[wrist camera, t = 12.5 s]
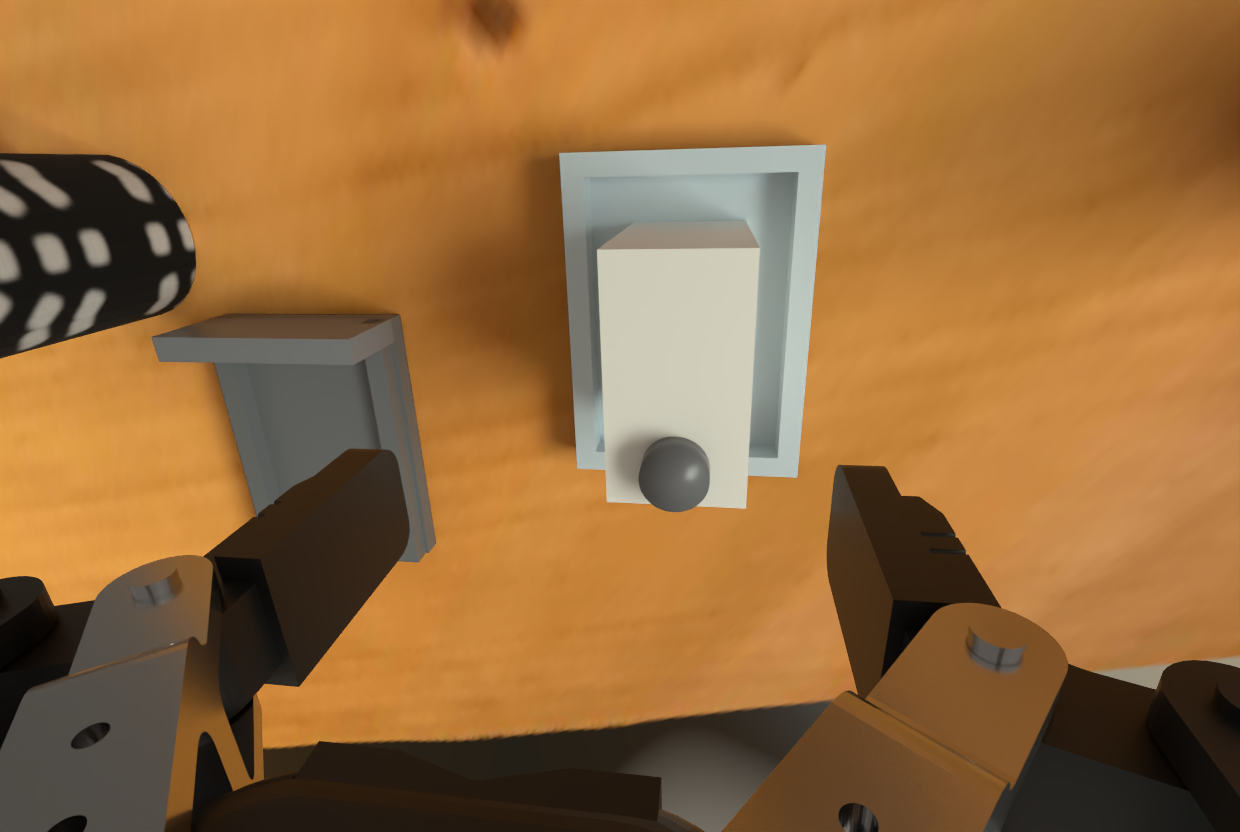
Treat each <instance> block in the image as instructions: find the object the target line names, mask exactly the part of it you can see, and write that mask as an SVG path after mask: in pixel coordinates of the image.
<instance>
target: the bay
mask: <svg viewBox="0 0 1240 832" xmlns="http://www.w3.org/2000/svg"><path fill="white" fill-rule="evenodd" d="M152 340H153V343H154V347H155V350H156V353H157V356H158V360H159V362H210V363H214V364H215V367H216V371H217V375H218V378H219V382H220V386H221V389H222V393H223V396H224V400H225V404H226V407H227V411H228V414H229V418H230V422H231V425H232V429H233V432H234V436H235V440H236V443H237V447H238V451H239V454H240V458H241V461H242V465H243V469H244V472H245V476H246V479H247V483H248V487H249V490H250V494H251V497H252V501H253V505H254V508H255V512H256V516H257V517H258V513H259V512H261V511H262V510H263V509H265V508H266V507H267V506H268V505H270V504H274V501H275V500H276V499H277V498H279V497H280V496H281V495H282V494H284V493H285V492H286V491H288V490H289V489H290V488H291V487H293V486H294V485H296V484H298V483H300V482H302V481H304V480H307V479H309V478H311V477H313V476H314V475H316V474H317V473H318V472H319V471H321V470H322V469H323V468H324V467H326V466H327V465H328V464H330V463H331V462H332V461H333V460H335V459H336V458H337V457H338V456H340V455H341V454H342V453H343V452H345V451H346V450H348V449H351V448H354V449H385V450H391V451H392V452H393V453H394V454H395V456H396V458H397V461H398V465H399V470H400V475H401V480H402V486H403V491H404V496H405V501H406V507H407V512H408V517H409V523H410V533H409V540H408V544H407V547H406V549H405V551H404V553H403V555H402V556H401V558H400V559H399V560H398V561H404V562H419V561H420V560H421V558H422V557H423V556H424V554H425V553H429V552H430V551H431V549H432V548H433V547H434V545H435V544H436V540H435V534H434V527H433V521H432V515H431V508H430V502H429V496H428V489H427V483H426V477H425V470H424V464H423V458H422V451H421V445H420V439H419V432H418V426H417V420H416V413H415V407H414V401H413V394H412V388H411V382H410V375H409V369H408V363H407V357H406V350H405V344H404V338H403V331H402V325H401V319H400V315H363V314H225V315H222V316H218V317H215V318H212V319H209V320H205V321H202V322H199V323H196V324H193V325H189V326H186V327H183V328H180V329H176V330H173V331H170V332H167V333H163V334H160V335H157V336H154V337H152Z"/></svg>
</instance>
